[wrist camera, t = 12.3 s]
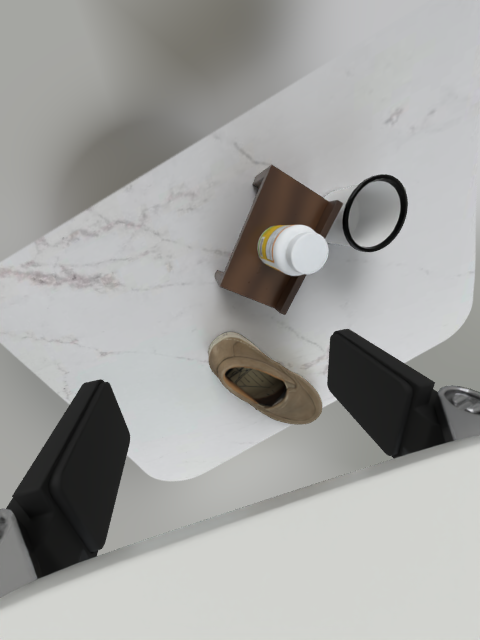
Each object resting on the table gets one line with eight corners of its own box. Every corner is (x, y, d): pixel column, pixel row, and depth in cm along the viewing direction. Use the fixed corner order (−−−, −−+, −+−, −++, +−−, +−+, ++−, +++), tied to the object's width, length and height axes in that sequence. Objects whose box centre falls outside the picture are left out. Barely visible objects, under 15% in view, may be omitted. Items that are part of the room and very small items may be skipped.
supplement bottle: (301, 249, 32) (344, 258, 23) (270, 274, 33) (302, 292, 24) (280, 216, 30) (320, 211, 21) (248, 243, 30) (274, 249, 22)
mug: (322, 257, 41) (356, 265, 33) (302, 205, 37) (335, 199, 29) (380, 221, 41) (429, 219, 32) (366, 165, 37) (418, 146, 28)
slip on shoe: (323, 395, 53) (347, 425, 45) (287, 426, 55) (305, 460, 46) (238, 312, 41) (251, 333, 33) (195, 354, 43) (197, 384, 34)
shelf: (214, 276, 38) (221, 290, 30) (255, 176, 34) (277, 159, 26) (265, 297, 41) (285, 315, 33) (309, 208, 37) (343, 203, 29)
